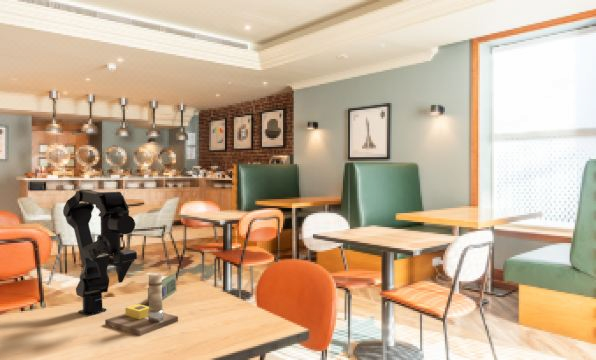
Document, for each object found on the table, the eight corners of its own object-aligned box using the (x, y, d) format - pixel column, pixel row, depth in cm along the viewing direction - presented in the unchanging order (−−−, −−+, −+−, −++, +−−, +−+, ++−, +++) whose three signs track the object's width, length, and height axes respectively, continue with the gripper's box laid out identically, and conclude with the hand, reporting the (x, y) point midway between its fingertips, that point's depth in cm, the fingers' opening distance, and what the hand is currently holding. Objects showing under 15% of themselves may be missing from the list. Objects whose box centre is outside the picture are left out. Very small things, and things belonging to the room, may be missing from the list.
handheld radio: (178, 291, 171) (148, 311, 146) (170, 291, 171) (139, 311, 147) (177, 274, 171) (147, 292, 146) (169, 274, 171) (138, 292, 146)
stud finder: (125, 315, 137) (125, 307, 137) (137, 311, 141) (137, 303, 141) (139, 319, 133) (139, 310, 133) (151, 315, 137) (151, 306, 137)
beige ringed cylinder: (145, 322, 130) (145, 276, 130) (152, 317, 135) (151, 273, 134) (159, 322, 130) (159, 276, 130) (165, 317, 134) (164, 273, 134)
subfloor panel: (105, 324, 133) (105, 319, 133) (143, 311, 145) (143, 307, 145) (140, 335, 124) (140, 330, 124) (177, 321, 136) (177, 316, 136)
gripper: (69, 232, 134) (70, 282, 134) (104, 237, 124) (105, 290, 124) (102, 228, 143) (103, 274, 144) (137, 232, 133) (138, 282, 134)
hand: (111, 280), depth 136 cm, fingers open, 9 cm apart
